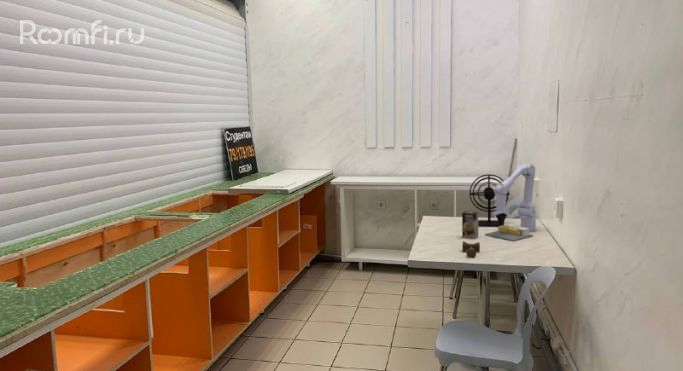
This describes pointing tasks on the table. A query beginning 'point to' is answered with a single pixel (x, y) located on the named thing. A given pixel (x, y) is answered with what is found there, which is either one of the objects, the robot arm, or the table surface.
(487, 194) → the desk fan
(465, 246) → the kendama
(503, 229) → the link
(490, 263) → the table surface
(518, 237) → the base
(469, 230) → the coffee box
